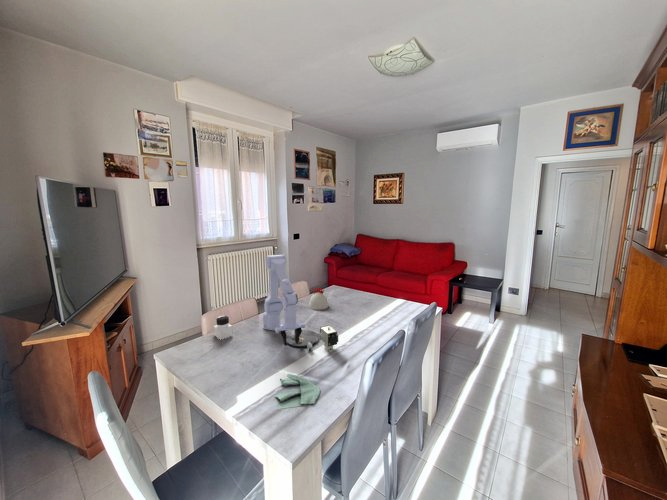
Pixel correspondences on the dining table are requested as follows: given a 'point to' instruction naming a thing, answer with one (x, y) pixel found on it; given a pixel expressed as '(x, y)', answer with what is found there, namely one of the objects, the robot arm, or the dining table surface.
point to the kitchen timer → (318, 300)
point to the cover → (293, 335)
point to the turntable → (303, 338)
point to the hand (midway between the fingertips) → (290, 343)
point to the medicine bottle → (223, 328)
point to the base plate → (305, 346)
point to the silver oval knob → (309, 346)
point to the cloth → (298, 393)
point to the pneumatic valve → (328, 337)
